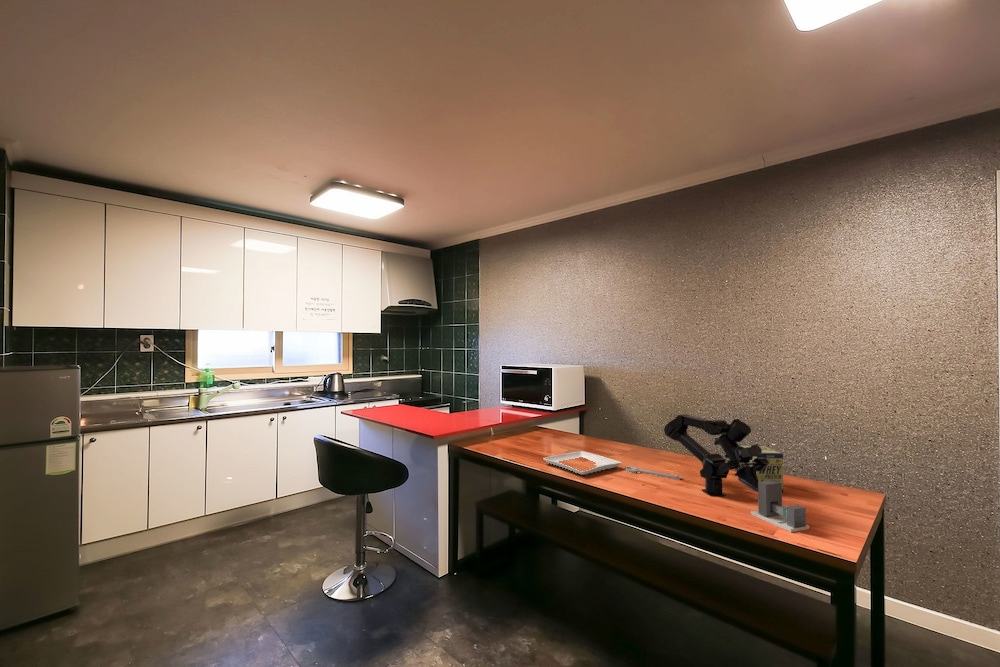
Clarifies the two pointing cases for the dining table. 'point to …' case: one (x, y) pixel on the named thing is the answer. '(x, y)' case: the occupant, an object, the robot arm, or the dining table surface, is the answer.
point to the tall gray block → (769, 496)
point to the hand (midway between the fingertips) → (758, 487)
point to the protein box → (768, 466)
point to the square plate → (599, 460)
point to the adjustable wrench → (651, 472)
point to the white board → (778, 521)
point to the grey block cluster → (791, 514)
